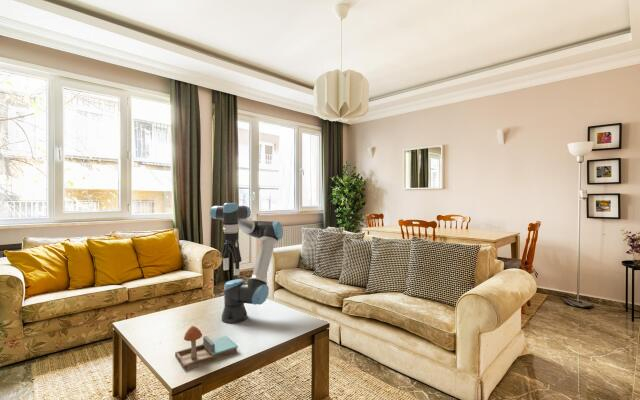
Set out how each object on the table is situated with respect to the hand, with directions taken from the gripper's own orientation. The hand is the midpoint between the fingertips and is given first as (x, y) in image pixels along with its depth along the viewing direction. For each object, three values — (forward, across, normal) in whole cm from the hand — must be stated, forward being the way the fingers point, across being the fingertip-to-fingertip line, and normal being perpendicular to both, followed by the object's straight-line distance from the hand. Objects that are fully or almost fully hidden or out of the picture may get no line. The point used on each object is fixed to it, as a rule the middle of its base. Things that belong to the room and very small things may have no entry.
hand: (231, 272), depth 172 cm
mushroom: (+34, +10, -23) cm, 43 cm away
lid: (+32, +10, -10) cm, 35 cm away
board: (+35, +10, -16) cm, 39 cm away
